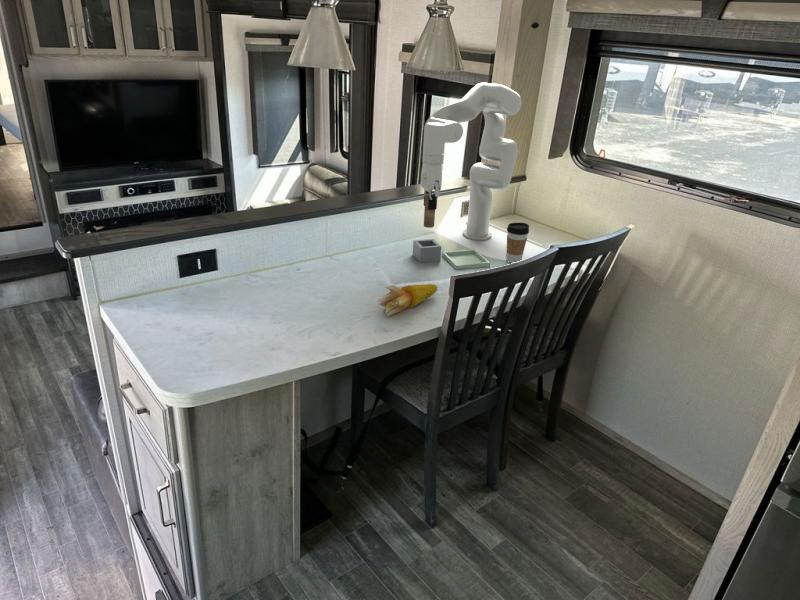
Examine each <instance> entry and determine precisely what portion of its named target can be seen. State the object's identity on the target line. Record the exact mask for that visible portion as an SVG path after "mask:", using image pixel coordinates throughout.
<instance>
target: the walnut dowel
mask: <svg viewBox="0 0 800 600" xmlns="http://www.w3.org/2000/svg"><path fill="white" fill-rule="evenodd" d="M433 194H434V193H432V195H433ZM424 196H425V206H424V212H423V227H425V228H428V229H430V228H431V229H433V228H434V227H435V219H436V217H435V216H436V210H428V201H429V199H430V194H425V195H424Z"/></svg>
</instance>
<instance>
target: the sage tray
mask: <svg viewBox="0 0 800 600" xmlns="http://www.w3.org/2000/svg"><path fill="white" fill-rule="evenodd" d="M441 257H443V258H444V259H445V260H446V261H447V263H448V264H449V265H450V266H452V268H453V269H455V270H463V269H475V268H476V269H477V268H484V267H488V268H489V269H490V268H491V262H490V260H488V259H487V258H486V257H484V256H483V255H482V254H481V253H480V252H479V251H478V250H477V249H472V248H471V249H461V250H448V251H441Z"/></svg>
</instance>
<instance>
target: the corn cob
mask: <svg viewBox="0 0 800 600" xmlns="http://www.w3.org/2000/svg"><path fill="white" fill-rule="evenodd" d="M385 288H386V289H387V290H389V292H388V293H386V294H384V295H383V296H382V297H381V298H378V299H377V302H379V304H378V305H379V306H382V307H384V309H383V313H385V315H386V318H389V317H391V316H393V315H395V314H397V313H399V312H401V311H402V310H404V309H406V308H408V309H410V310H411V309H413V308H414V307H416V305H418V304H421V302H423V301H425V300H427V299H428V298H430V297H431V296H433V295H434V294H435V293H437V292H438V285H436V284H435V283H434V284H433V283H429V284H409V285H406V286H402V287H401V288H400V287H398V286H397V285H395V284H393V285H388V286H385Z"/></svg>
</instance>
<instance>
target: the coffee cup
mask: <svg viewBox="0 0 800 600" xmlns="http://www.w3.org/2000/svg"><path fill="white" fill-rule="evenodd" d="M506 228H507V229H506V231H507V235H506V254H505V255H506V257H505V261H506V260H507V261H509V262H510V263H509V262H508V263H509V264H513V263H512V262H517V261H520V260H521V261H522V259H523V255H524V250H525V248H526V244H527V241H528V240H527V239H528V234H529V233H530V224H528V223H526V222H511V223H509V224H508V225H507V227H506ZM507 261H506V262H507Z"/></svg>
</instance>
